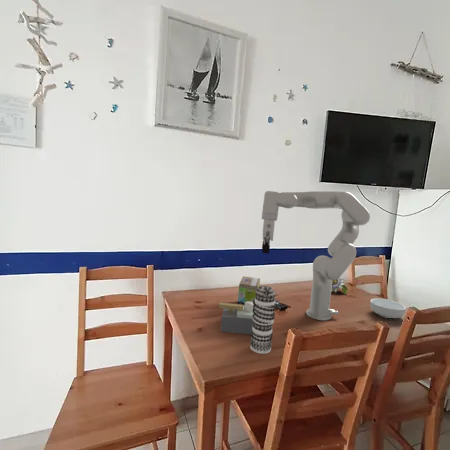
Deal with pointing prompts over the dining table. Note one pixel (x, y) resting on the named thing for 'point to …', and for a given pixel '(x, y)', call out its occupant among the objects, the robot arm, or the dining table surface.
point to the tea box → (247, 289)
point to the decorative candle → (263, 320)
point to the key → (230, 306)
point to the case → (235, 323)
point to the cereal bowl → (387, 308)
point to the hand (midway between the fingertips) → (265, 251)
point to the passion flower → (339, 285)
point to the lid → (246, 310)
